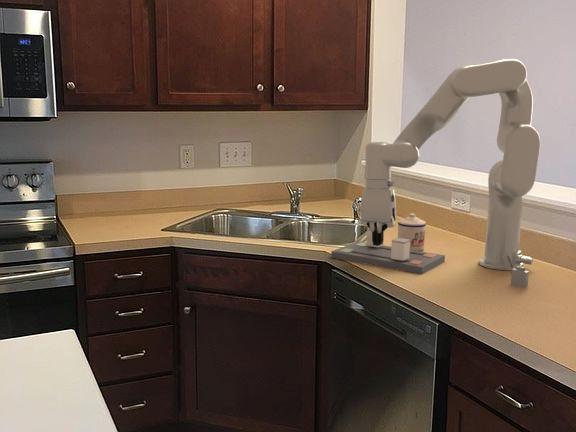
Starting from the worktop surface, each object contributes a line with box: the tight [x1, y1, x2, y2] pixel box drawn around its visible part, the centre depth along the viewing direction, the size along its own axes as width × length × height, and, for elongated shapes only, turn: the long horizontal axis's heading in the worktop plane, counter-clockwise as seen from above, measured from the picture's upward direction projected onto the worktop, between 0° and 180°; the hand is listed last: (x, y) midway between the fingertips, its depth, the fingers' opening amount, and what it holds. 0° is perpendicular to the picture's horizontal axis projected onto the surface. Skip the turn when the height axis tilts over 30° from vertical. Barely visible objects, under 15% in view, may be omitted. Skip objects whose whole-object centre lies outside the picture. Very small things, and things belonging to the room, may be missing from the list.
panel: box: [330, 241, 446, 275], centre depth 201 cm, size 30×17×2 cm, turn 55°
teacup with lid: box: [397, 213, 427, 252], centre depth 215 cm, size 12×9×12 cm
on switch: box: [365, 227, 385, 247], centre depth 208 cm, size 4×4×6 cm
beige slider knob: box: [390, 237, 410, 261], centre depth 192 cm, size 4×4×6 cm
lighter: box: [502, 254, 530, 289], centre depth 176 cm, size 7×2×8 cm, turn 49°
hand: (377, 244), depth 197 cm, fingers closed
